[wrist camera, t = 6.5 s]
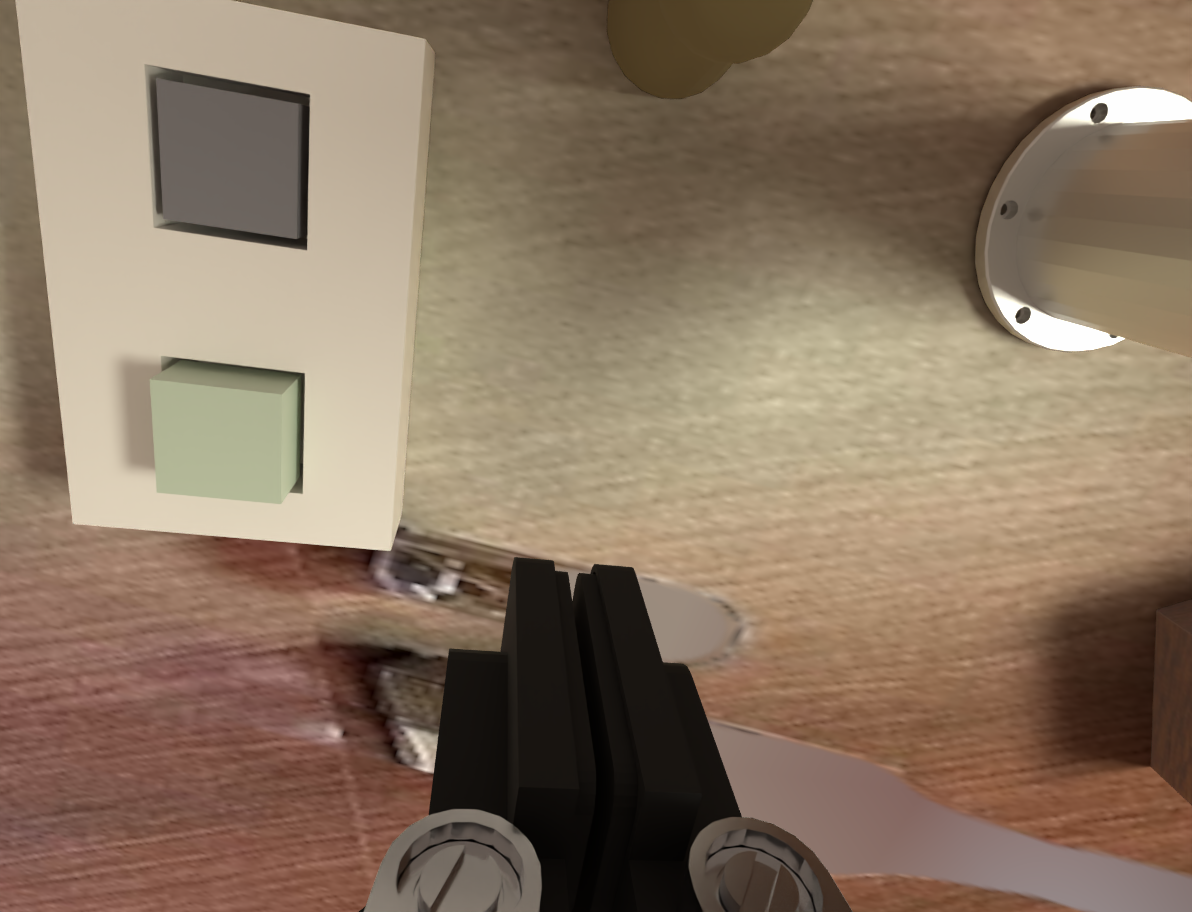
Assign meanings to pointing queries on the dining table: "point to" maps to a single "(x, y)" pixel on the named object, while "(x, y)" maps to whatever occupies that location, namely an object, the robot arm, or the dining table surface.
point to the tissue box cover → (1173, 698)
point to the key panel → (230, 255)
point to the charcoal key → (233, 159)
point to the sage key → (226, 431)
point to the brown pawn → (695, 39)
